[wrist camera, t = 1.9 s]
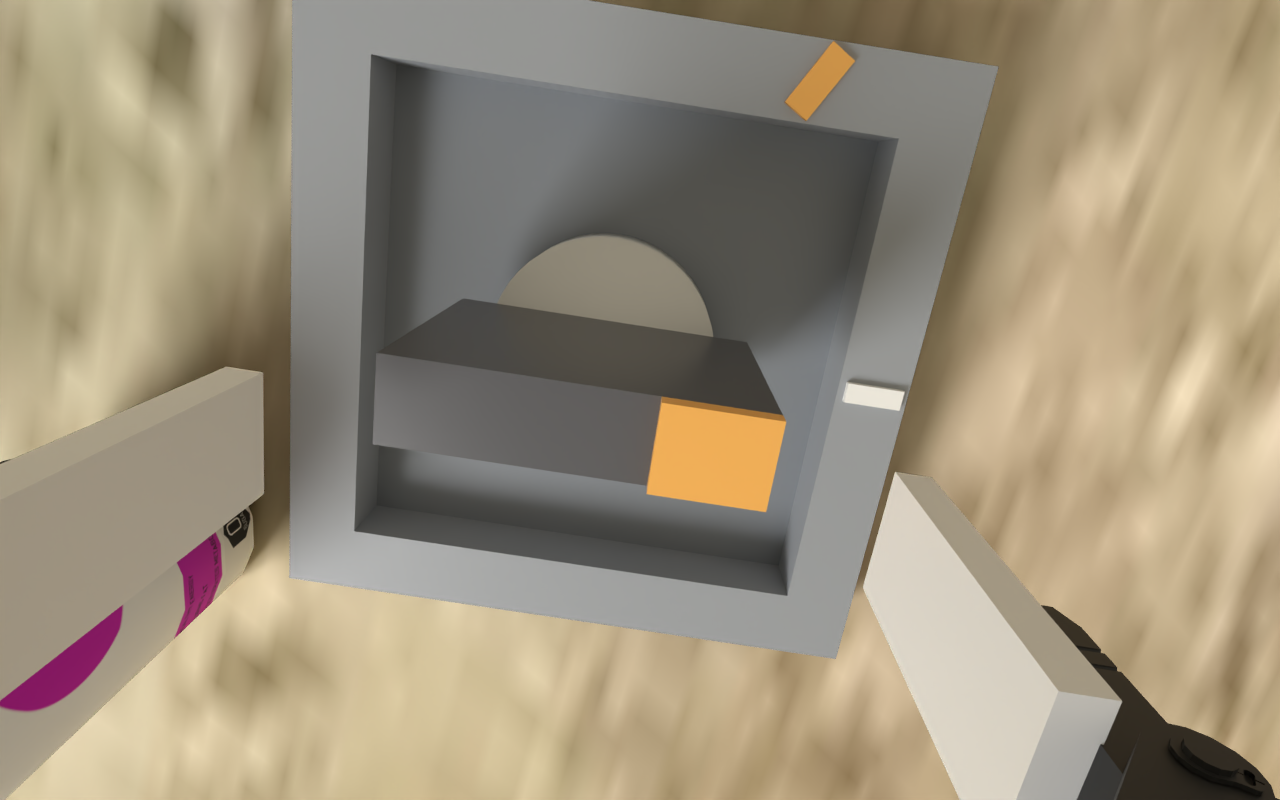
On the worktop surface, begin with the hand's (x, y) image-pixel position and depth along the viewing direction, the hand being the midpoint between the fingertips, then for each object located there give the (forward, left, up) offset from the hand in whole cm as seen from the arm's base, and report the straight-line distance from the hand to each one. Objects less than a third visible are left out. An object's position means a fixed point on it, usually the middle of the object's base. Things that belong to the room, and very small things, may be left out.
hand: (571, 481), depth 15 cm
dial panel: (0, 0, -15) cm, 15 cm away
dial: (0, 0, -13) cm, 13 cm away
